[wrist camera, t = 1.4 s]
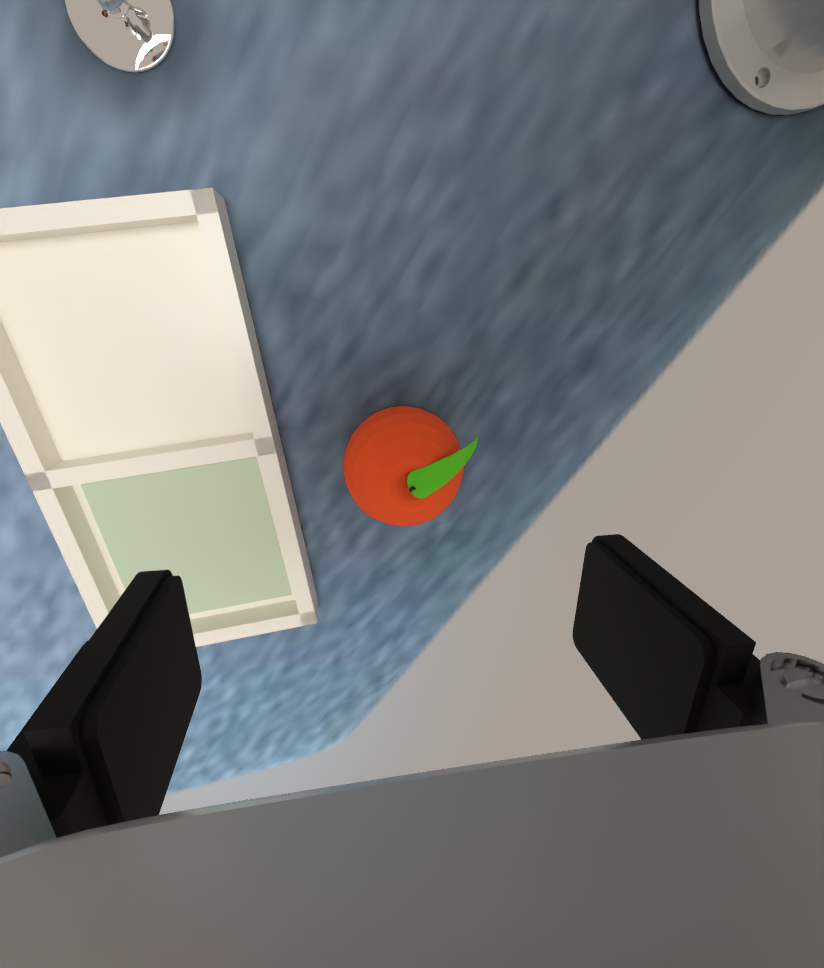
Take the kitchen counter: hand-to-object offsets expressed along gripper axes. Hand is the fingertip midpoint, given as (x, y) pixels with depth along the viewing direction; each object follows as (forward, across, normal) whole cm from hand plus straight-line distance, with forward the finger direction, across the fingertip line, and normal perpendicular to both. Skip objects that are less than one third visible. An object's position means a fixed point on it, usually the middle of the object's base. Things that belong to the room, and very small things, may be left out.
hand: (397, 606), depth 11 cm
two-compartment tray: (+20, +11, +2) cm, 23 cm away
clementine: (+20, -3, +2) cm, 20 cm away
